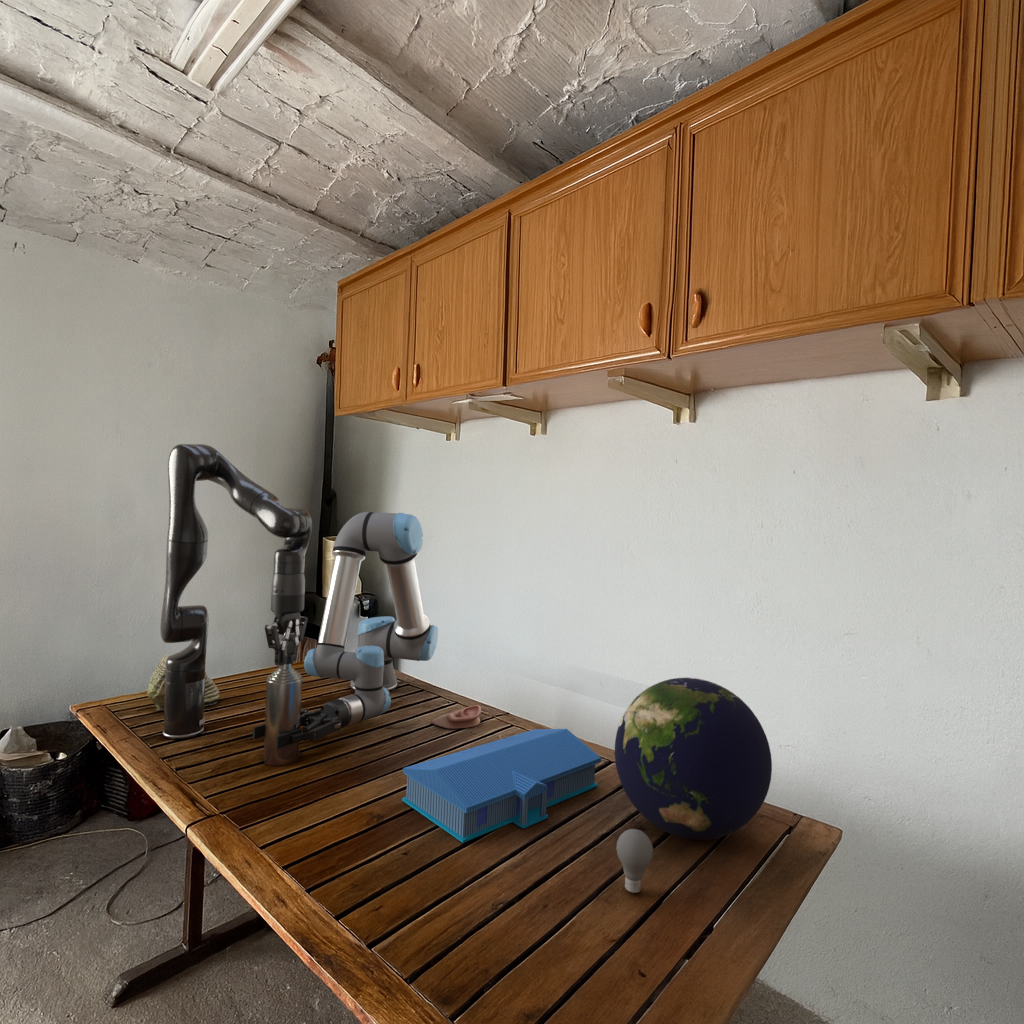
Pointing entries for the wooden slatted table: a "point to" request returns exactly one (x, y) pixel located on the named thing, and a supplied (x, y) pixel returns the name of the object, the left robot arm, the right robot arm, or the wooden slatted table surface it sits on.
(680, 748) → the globe
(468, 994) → the wooden slatted table surface
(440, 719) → the anatomical model
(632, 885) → the light bulb
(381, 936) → the wooden slatted table surface
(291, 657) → the cap
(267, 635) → the left robot arm
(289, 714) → the bottle
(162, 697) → the fossil
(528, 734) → the model building
